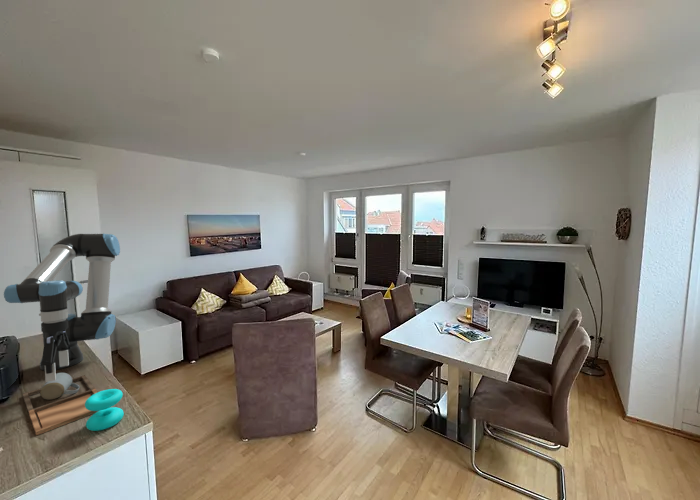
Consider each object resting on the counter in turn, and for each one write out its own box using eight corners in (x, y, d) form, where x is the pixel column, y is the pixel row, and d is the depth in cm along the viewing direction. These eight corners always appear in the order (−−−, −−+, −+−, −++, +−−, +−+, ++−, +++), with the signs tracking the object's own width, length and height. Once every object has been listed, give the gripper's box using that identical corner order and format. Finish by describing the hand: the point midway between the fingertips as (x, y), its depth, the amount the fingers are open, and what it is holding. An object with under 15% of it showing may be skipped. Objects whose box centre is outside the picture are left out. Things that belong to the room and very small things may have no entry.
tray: (22, 396, 116) (22, 393, 116) (84, 377, 131) (84, 375, 130) (36, 435, 95) (35, 432, 95) (108, 407, 110) (108, 404, 109)
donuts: (119, 384, 108) (125, 395, 101) (120, 409, 109) (126, 422, 102) (82, 395, 100) (86, 407, 94) (84, 423, 101) (88, 437, 94)
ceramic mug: (39, 403, 112) (38, 384, 111) (48, 392, 119) (47, 374, 118) (76, 396, 117) (75, 377, 116) (82, 386, 124) (81, 368, 123)
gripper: (54, 313, 124) (57, 362, 126) (25, 331, 103) (29, 390, 104) (77, 311, 128) (80, 358, 129) (55, 328, 106) (58, 385, 108)
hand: (57, 373), depth 117 cm, fingers open, 13 cm apart
